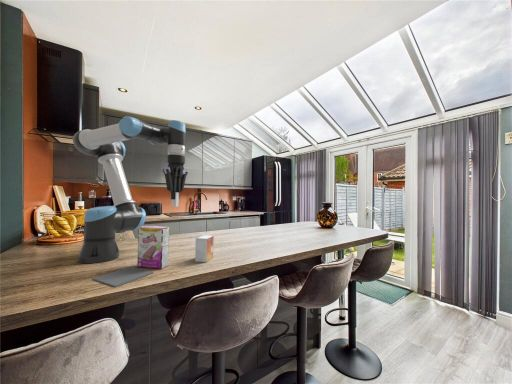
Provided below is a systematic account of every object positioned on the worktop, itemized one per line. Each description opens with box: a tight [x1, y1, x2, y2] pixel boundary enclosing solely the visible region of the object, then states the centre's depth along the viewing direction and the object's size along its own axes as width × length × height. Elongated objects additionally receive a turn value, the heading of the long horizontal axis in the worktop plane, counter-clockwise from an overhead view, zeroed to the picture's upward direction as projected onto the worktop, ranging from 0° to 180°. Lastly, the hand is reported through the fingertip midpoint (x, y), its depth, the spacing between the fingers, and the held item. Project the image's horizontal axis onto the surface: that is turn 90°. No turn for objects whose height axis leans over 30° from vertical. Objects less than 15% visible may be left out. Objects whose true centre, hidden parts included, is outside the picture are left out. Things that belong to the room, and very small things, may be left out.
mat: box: [92, 266, 154, 288], centre depth 78 cm, size 13×14×1 cm
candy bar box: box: [136, 225, 170, 270], centre depth 89 cm, size 11×5×16 cm, turn 81°
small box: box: [194, 234, 215, 263], centre depth 100 cm, size 8×6×10 cm
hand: (175, 206), depth 99 cm, fingers closed
